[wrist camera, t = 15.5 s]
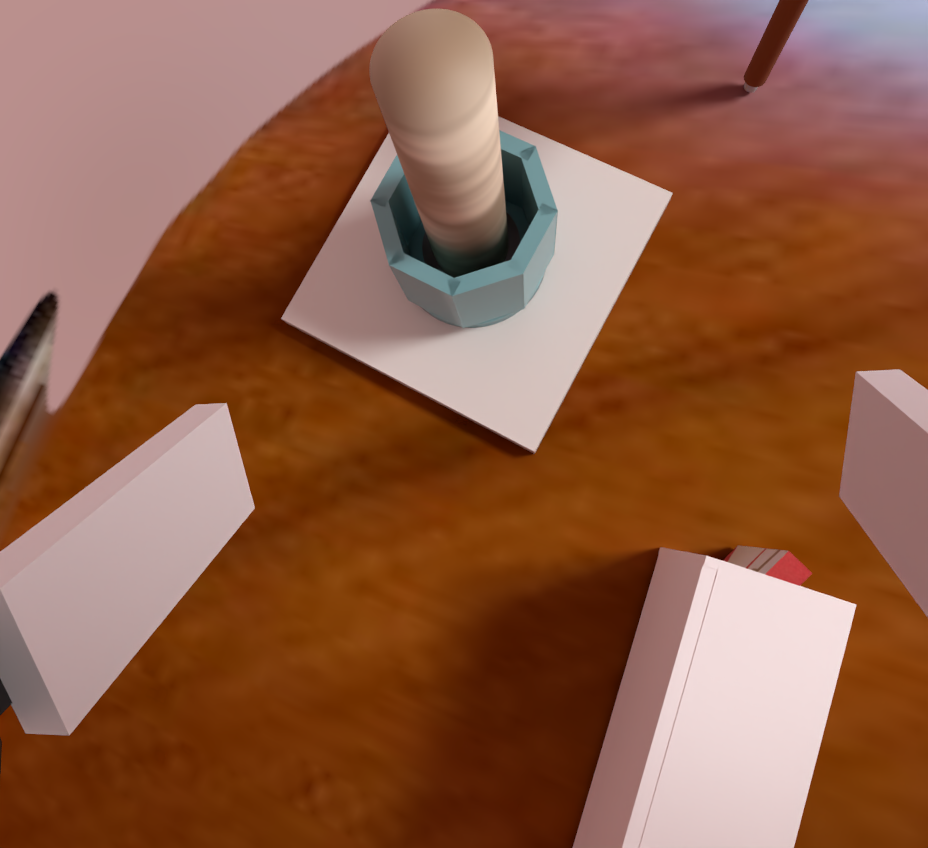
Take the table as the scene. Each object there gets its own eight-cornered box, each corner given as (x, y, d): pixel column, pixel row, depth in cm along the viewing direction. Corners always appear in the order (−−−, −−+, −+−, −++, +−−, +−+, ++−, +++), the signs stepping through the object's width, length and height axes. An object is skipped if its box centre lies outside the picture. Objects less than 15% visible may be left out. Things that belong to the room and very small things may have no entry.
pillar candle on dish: (537, 228, 35) (541, 27, 21) (491, 312, 35) (463, 165, 21) (453, 189, 36) (400, -31, 22) (406, 270, 36) (322, 101, 21)
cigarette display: (663, 963, 32) (717, 1145, 22) (550, 915, 32) (558, 1072, 23) (773, 557, 34) (865, 570, 24) (666, 522, 35) (715, 522, 25)
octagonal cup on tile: (668, 202, 37) (700, 128, 30) (534, 454, 36) (535, 437, 29) (421, 92, 39) (398, 1, 33) (287, 323, 38) (233, 279, 31)
